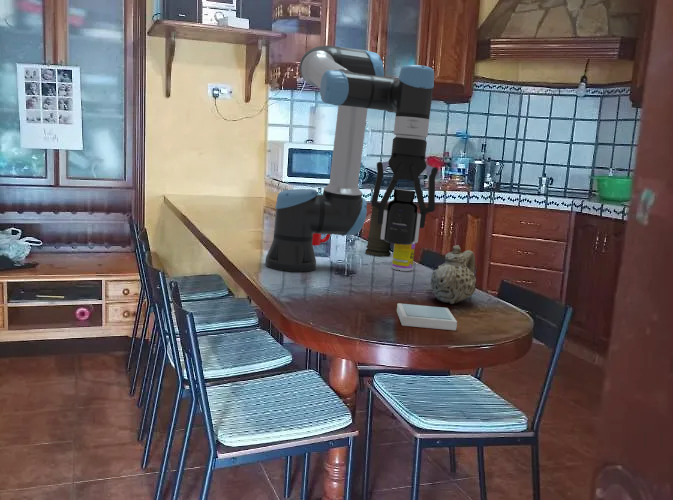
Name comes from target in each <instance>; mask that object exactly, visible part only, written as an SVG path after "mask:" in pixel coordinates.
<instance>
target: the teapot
mask: <svg viewBox="0 0 673 500" xmlns="http://www.w3.org/2000/svg"><path fill="white" fill-rule="evenodd" d="M461 250H462V249H461V247H460V245H459V244H457V245H453V246H452V251H450V252H448V253H446V254H445V257H444V260H445V261H444V262H443V263H442V264H440V265H438V267H437V268H436V269H434V270H433V272H432V273H431V278H430V285H431V286H432V291H433V293H434V295H435V297H436V300H438V301H439V302H442V303H446V304H450V305H454V304H458V303H460V302H461V301H465V300H466V299H467V298H469V297H471V296H472V295H474V294H475V292H476V282H477V279H476V276H475V271H476V269H475V268H476V256H475V253H474V252H473V251H472V250H470V249H468V250H465V251H463V252H461Z"/></svg>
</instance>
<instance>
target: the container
mask: <svg viewBox="0 0 673 500" xmlns="http://www.w3.org/2000/svg"><path fill="white" fill-rule="evenodd" d="M387 206H388V203H387V204H386V206H385V208H384V210H387ZM370 207H371V213H370V214H371V215H370V225H369V231H368V233H369V234H368V238H367V244H366V246H365V247H366V249H365V251H364V252H365V254H366V255H368V254H369V256H373V255H375V256H374V257H382V256H387V257H390V256H391V253H392V252H391V243H389V242H386V241H384V240H383V239H381V238H380V237H381V228H382V224H378V221H377V219H378V208H376V207H374V206H372V204H371V206H370Z"/></svg>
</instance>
